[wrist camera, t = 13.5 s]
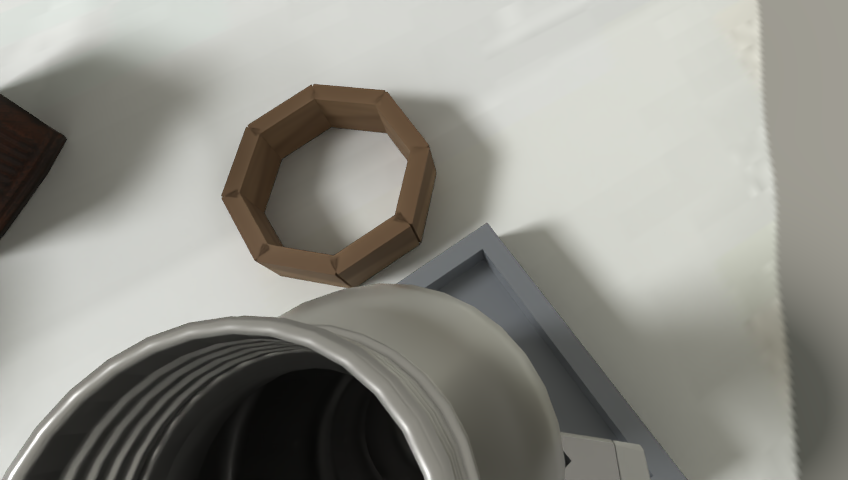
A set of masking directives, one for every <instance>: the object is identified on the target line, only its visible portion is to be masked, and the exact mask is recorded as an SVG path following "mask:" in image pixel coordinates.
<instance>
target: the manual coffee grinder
mask: <svg viewBox="0 0 848 480" xmlns="http://www.w3.org/2000/svg"><path fill="white" fill-rule="evenodd" d="M66 140H67V139H66V138H65V136H64V135H62V134H61V133H59V132H57V131H56V130H54V129H53V128H51V127H50V126H47V125H46V124H44V123H43V122H42V121H40V120H39V119H37V118H36V117H34V116H33V115H32V114H30V113H29V112H27V111H25V110H24V109H22V108H21V107H19V106H18V105H16V104H15V103H13V102H12V101H10V100H9V99H7V98H6V97H4V96H3V95H1V94H0V237H1V236H2V235H3V234H4V233H5V232H6V231H7V229H8V228H9V226H10V225H11V224H12V222H13V221H14V219H15V218H16V217H17V215H18V214H19V213H20V211H21V210H22V208H23V207H24V206H25V204H26V203H27V201H28V200H29V199H30V197H31V196H32V194H33V193H34V192H35V190H36V189H37V188H38V186H39V185H40V183H41V182H42V181H43V179H44V178H45V176H46V175H47V174H48V172H49V170H50V168H51V166H52V165H53V163H54V161H55V159H56V158H57V156H58V154H59V152H60V150H61V149H62V147H63V145H64V143H65V141H66Z"/></svg>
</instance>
